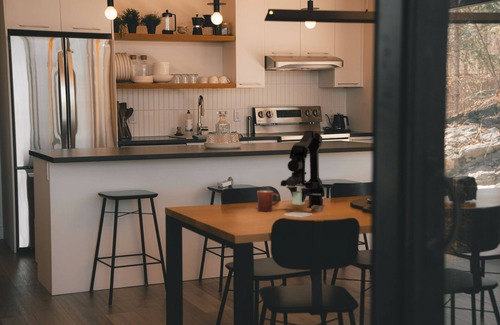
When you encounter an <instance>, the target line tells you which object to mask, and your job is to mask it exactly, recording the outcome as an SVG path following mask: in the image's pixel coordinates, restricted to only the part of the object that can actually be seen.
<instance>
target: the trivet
mask: <svg viewBox="0 0 500 325" xmlns="http://www.w3.org/2000/svg"><path fill="white" fill-rule="evenodd" d="M284 216H287V217H288V216H289V217H297V218H305V217H309V216H313V212H304V211H292V212H287V213H286V212H285V213H284Z"/></svg>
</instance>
